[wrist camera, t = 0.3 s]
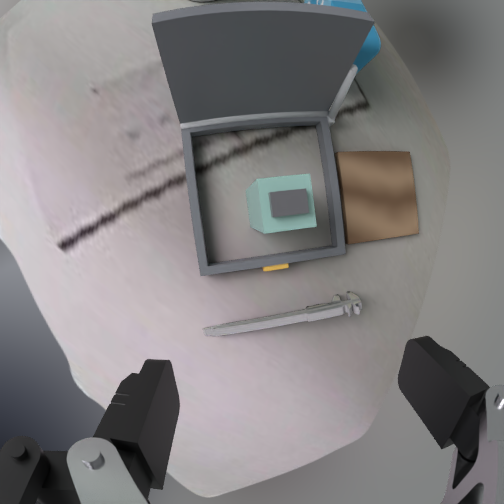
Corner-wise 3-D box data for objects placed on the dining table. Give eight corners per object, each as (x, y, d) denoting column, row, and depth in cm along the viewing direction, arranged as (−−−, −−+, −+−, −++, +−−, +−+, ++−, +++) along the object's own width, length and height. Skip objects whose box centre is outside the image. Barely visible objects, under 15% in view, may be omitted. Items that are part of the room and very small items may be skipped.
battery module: (245, 190, 35) (258, 177, 22) (281, 186, 35) (312, 172, 22) (250, 226, 35) (265, 234, 23) (286, 222, 36) (319, 227, 23)
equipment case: (179, 92, 32) (152, 11, 15) (320, 82, 34) (379, 12, 16) (202, 277, 36) (185, 334, 18) (346, 255, 37) (430, 286, 20)
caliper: (348, 289, 38) (369, 302, 32) (349, 297, 38) (369, 311, 32) (202, 327, 37) (199, 348, 31) (205, 334, 37) (202, 356, 31)
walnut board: (334, 153, 35) (337, 152, 34) (405, 152, 36) (409, 151, 35) (345, 243, 37) (348, 244, 36) (414, 232, 38) (418, 233, 37)
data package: (294, 23, 32) (316, -26, 20) (321, 23, 32) (349, -22, 20) (316, 86, 34) (350, 44, 22) (344, 86, 34) (385, 48, 22)
